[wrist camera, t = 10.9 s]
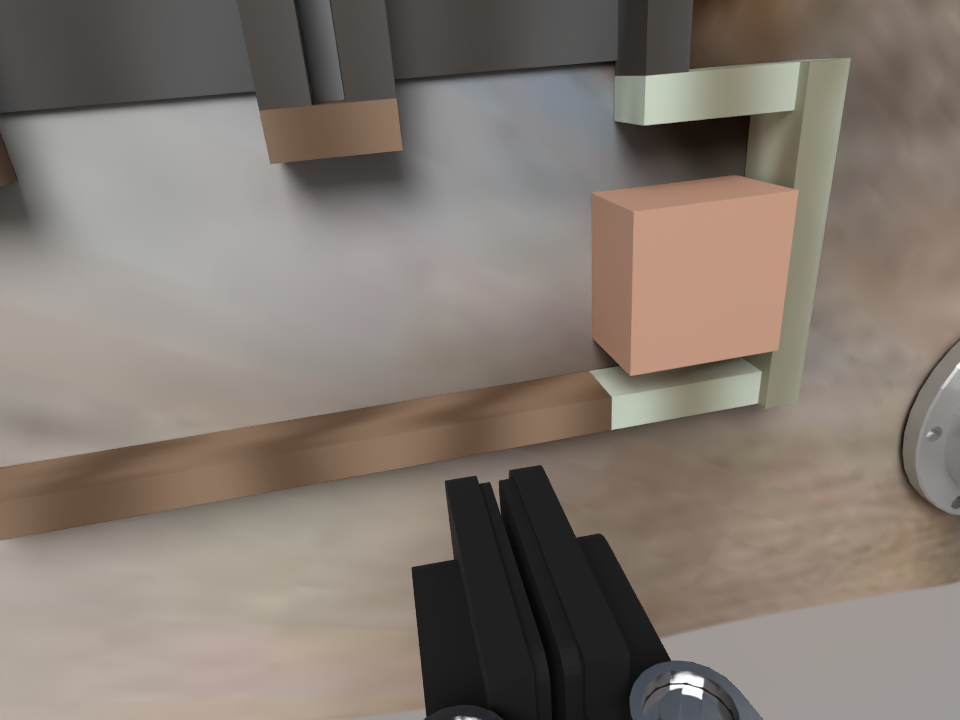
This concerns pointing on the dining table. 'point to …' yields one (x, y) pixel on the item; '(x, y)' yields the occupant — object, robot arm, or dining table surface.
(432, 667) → the robot arm
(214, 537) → the dining table surface
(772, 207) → the block
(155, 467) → the trap lane
